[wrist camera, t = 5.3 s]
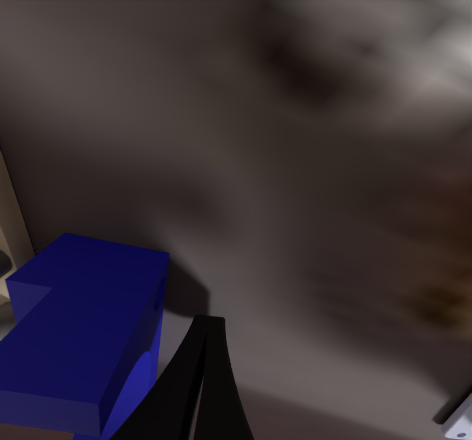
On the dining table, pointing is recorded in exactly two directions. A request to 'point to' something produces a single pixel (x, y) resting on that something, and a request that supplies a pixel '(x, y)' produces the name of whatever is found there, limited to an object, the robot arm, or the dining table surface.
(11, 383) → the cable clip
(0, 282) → the coat hook rack
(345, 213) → the dining table surface
